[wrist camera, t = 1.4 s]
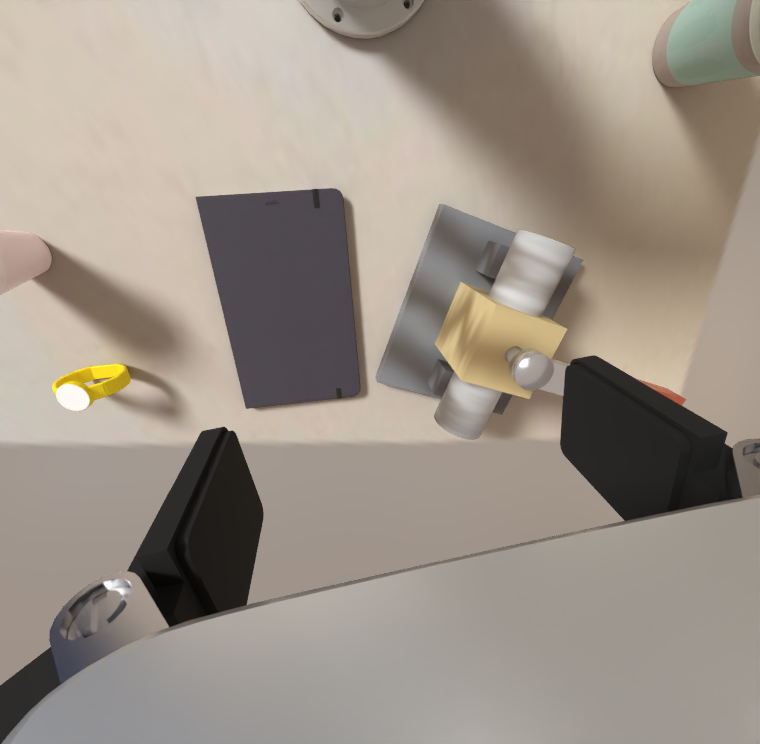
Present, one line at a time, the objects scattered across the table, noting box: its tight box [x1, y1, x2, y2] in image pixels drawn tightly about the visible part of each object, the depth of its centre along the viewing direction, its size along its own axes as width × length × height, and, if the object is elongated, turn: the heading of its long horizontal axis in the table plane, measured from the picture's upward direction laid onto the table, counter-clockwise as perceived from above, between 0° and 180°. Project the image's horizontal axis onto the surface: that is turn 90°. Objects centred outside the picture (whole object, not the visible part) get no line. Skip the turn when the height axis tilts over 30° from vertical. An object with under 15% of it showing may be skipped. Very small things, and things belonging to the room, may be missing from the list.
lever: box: [509, 348, 686, 406], centre depth 32 cm, size 16×3×2 cm, turn 71°
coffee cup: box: [653, 0, 760, 87], centre depth 29 cm, size 9×9×12 cm
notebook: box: [196, 188, 360, 409], centre depth 39 cm, size 13×2×21 cm
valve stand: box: [376, 204, 583, 440], centre depth 37 cm, size 19×16×12 cm
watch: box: [52, 364, 131, 411], centre depth 37 cm, size 6×3×6 cm, turn 94°
